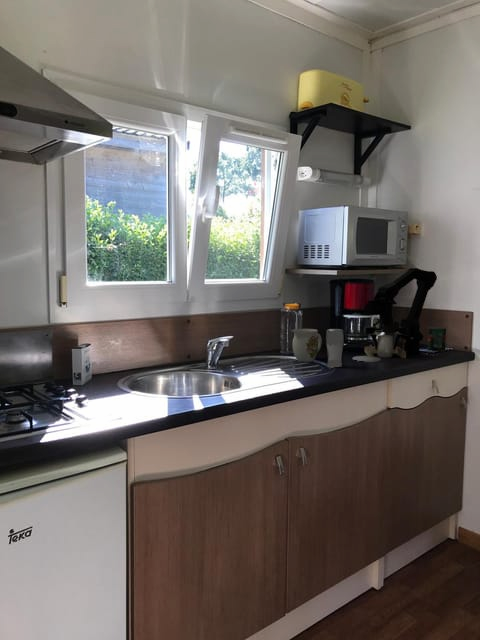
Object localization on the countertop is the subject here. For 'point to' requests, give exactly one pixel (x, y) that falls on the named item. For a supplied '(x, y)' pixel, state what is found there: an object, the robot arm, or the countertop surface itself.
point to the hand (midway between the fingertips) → (385, 349)
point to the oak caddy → (371, 350)
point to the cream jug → (385, 346)
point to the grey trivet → (367, 358)
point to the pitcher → (306, 344)
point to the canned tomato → (437, 339)
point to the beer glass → (334, 347)
